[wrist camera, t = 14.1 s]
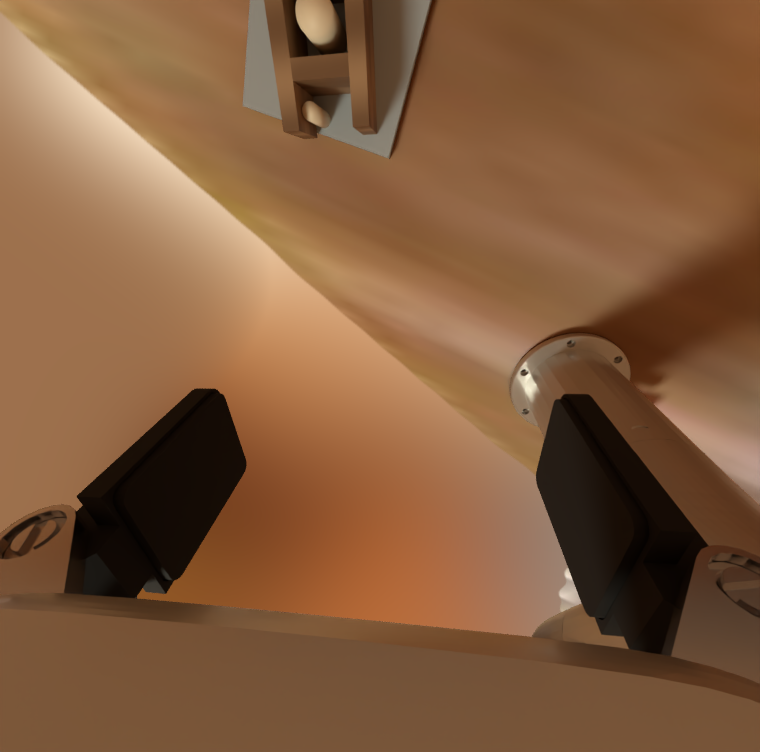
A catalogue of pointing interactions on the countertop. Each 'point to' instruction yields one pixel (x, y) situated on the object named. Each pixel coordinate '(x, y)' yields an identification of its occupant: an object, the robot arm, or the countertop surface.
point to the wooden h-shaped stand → (323, 67)
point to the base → (387, 71)
